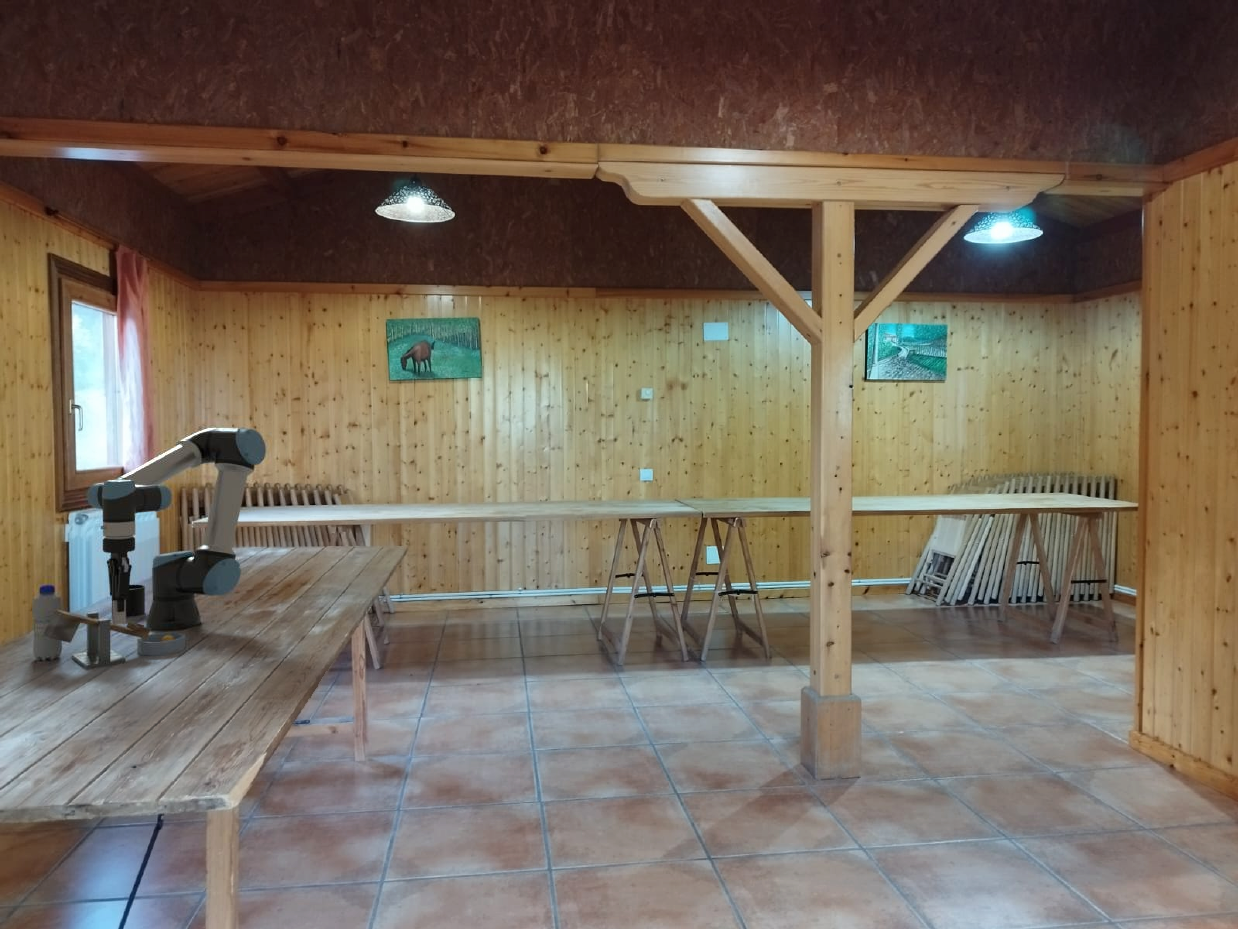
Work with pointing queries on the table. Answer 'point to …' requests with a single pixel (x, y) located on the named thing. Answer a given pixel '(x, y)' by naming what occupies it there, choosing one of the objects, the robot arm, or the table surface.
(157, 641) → the bowl
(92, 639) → the fulcrum
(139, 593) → the mug
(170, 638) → the ball
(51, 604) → the bottle
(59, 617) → the lever
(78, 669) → the table surface
